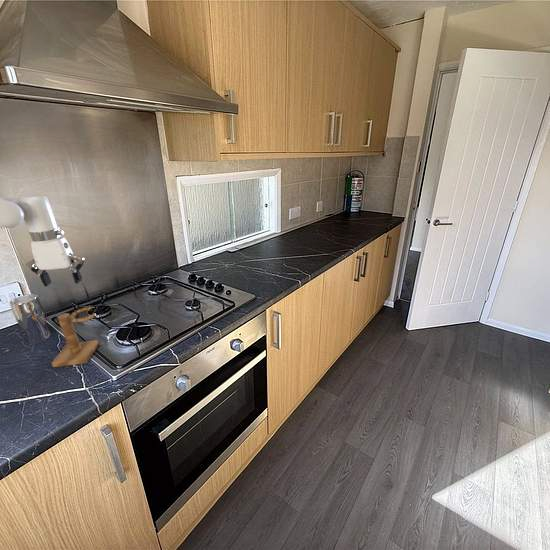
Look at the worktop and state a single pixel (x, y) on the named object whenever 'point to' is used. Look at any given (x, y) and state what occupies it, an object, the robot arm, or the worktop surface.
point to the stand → (73, 345)
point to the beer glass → (31, 317)
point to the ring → (81, 318)
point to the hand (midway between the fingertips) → (63, 283)
